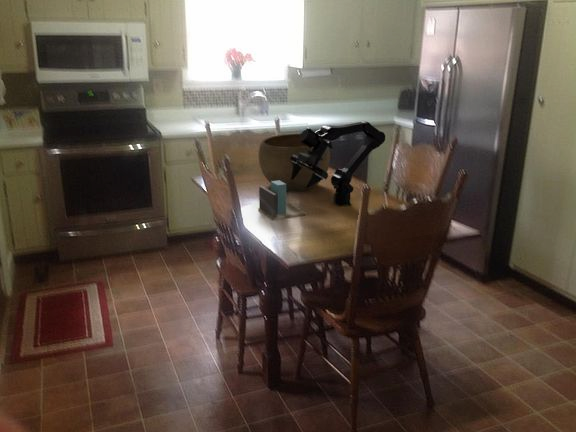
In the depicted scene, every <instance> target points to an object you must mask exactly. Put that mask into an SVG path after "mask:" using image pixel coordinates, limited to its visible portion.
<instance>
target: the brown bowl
mask: <svg viewBox="0 0 576 432" xmlns="http://www.w3.org/2000/svg"><path fill="white" fill-rule="evenodd" d="M300 134H301V133H284V134H277V135H273V136H270V137H267V138H265V139H263V140H262V141H261V142H260V145H259V148H258V149H259V150H258V163H259V166H260V169H261V171H262V174H263V176H264V177H265V179H266V180H267V181H268V182H269V183H270V184H271V181H278V180H280V181H281V182H283V183H285V184H286V191H288V192H289V191H290V192H298V191H299V192H301V191H306V190H310V189H312V188H313V187H315V186H316V185H318V184H319V183H320V182H322V180H320V181H318V182H317V183H315V184H314V185H312V186H311V187H309V188H308V189H307V188H306V186H307V184H308V183H309V181H310V179H311V178H312V173H314V174H315V172H314V171H312V170H310V169H308V168H307V167H305V166H303V165H302V166H300V167H302V168H301V170H300V171H299V173H298V174H297V175H296V177H295V178H294V179H293V180H291V176H292V170H293V165H292V163H291V161H292V160H290V158H291V156H292V155H296V156H299V153H307V152H308V151H311V149H312V148H313V147H311V148H309V147H308V146H306V145H305V144H303V143H301V142H300V141H299V136H300ZM319 140H322V139H321V138H319ZM323 140H324V139H323ZM325 141H327V140H325ZM330 149H331V148H327V150H326V151H325V153H324V155H323V157H322V158H323V160H322V161H321V160H320V162H319V164H318V165H317V167H318V168H320V169H322V170H324V171H325V172H327V173H328V171H329V167H330V163H331V162H330V160H331V151H330ZM306 166H307V165H306ZM311 168H312V166H311Z"/></svg>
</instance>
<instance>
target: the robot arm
mask: <svg viewBox="0 0 576 432" xmlns="http://www.w3.org/2000/svg"><path fill="white" fill-rule="evenodd" d="M361 132H362V133H363V134H364V135H365V137H364V141H363V144H362V145H361V147H359V149H358V150H357V151H356V153H355V154H354V155H353V157H352V158H351V159H350V160H349V161H348V162H347V164H346V165H345V166H344V167H343V168H342V169H341V168H337V169H336V170H335V171H334V172H333V173H332V174H331V178H330V183H331V186H333V189H334V190H335V192H334V197H333V202H334V204H335V205H336V206H338V207H339V206H351V205H352V203H351V193H353V191H354V189H355V188H354V187H353V185H351V182H352V177H353V175H354V174H355V172H356V171H357V169H359V167H360V166H361V165H362V164H363V162H364V161H365V160H366V158H367V157H368V156H369V154H371V153H372V151H374V150H375V149H378V148H379V147H381V145H383V144H384V143H385V141H386V134H385V132H384V131H380V130H379V129H377V128H376V127H375V126H373V125H372V123H370V122H369V121H365V120H361V121H359V122H358V121H357V122H353V123H347V124H343V125H323V126H321V128H320V129H318V130H316V131H313V130H312V129H311V128H310V127H306V128H305V130H303V131H302V132H301V133H299V134H300V136H299V141H300V142H301V143H303V144H305V145H306V146H308V147H309V148H311V147H313V148H312V149H311V151H308V152H307V153H299V156H296V155H292V156H291V158H290V160H292V161H291V163H292V165H293V170H292V176H291V180H293V179H294V178H295V177H296V175H297V174H298V173H299V171H300V170H301V168H302V167H300V166H302V165H303V166H305V167H307V168H308V169H310V170H312V171H314V172H315V174H314V173H312V178H311V179H310V181H309V183H308V184H307V186H306V188H307V190H309V189H308V188H309V187H311V186H312V185H314V184H315V183H317V182H318V181H320V180H321V181H323V180H328V177H329V173H328V171H327V172H325V171H324V170H322V169H320V168H318V167H317V165H318V164H319V162H320V160H321V161H322V160H323V158H322V157H323V155H324V153H325V151H326V150H327V148H329V149H331V150H333V149H334V148H333V144H332V142H333V141H335V140H338V139H340V138H341V137H342V136H347V135H351V134H356V133H357V134H358V133H361ZM319 138H321V139H322V140H319ZM323 139H324V140H323ZM325 140H326V141H325ZM306 165H307V166H306ZM311 166H312V168H311ZM321 181H320V182H321Z"/></svg>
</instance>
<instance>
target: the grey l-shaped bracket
mask: <svg viewBox="0 0 576 432" xmlns="http://www.w3.org/2000/svg"><path fill="white" fill-rule="evenodd" d="M258 188H259V191H258V192H259V201H258V203H259V204H258V205H259V208H257V209H258V210H257V211H259V213H260V214H262V215H264V216H265V217H267V218H269V219H270V220H271V221H276V220H277V221H278V220H284V219H288V218H294V217H301V216H306V212H305V211H303V210H302V209H301V208H299V207H297V206H295V205H293V204H292V203H286V213H285V214H279V215H277V214H276V199H277V195H276V194H275V193H273V192H271V189H270V190H269V189H267V188H266V187H264V186H263V185H259V187H258Z"/></svg>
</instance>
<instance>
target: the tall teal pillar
mask: <svg viewBox="0 0 576 432" xmlns="http://www.w3.org/2000/svg"><path fill="white" fill-rule="evenodd" d="M270 191H271V192H273V193H275V194H276V195H277V199H276V214H277V215H279V214H285V213H286V204H287V190H286V184H285V183H283V182H281V181H280V180H278V181H271V183H270Z"/></svg>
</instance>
